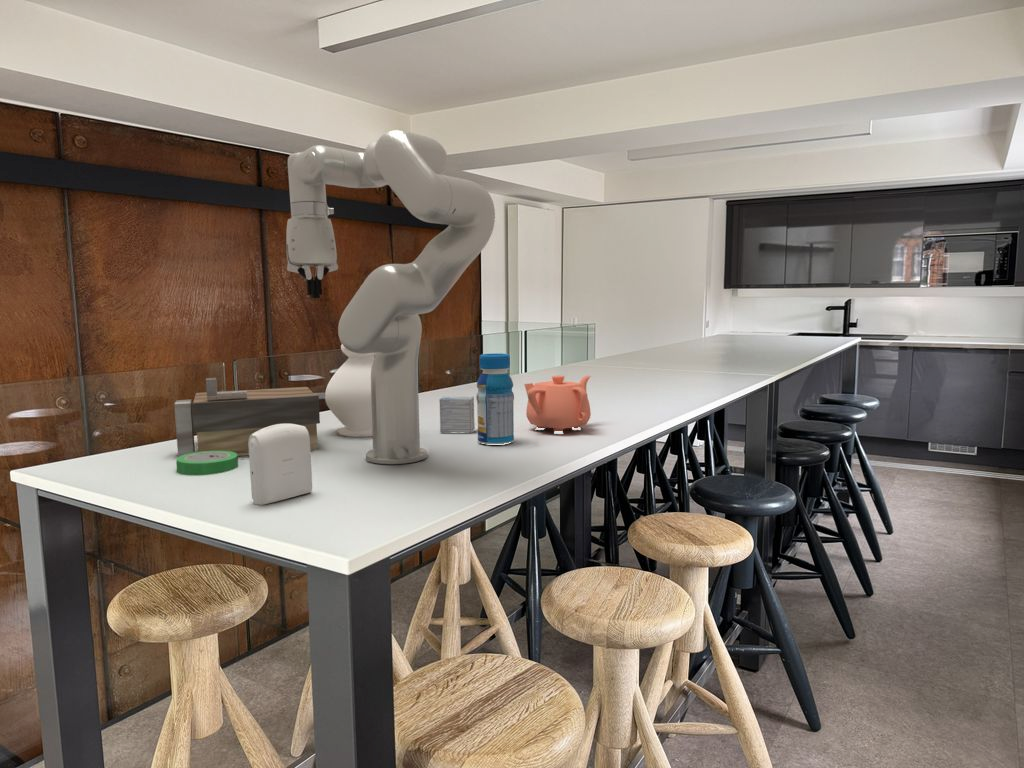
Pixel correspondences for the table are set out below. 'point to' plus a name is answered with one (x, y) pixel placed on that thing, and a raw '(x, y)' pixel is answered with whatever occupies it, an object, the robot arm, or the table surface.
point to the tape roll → (206, 462)
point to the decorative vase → (352, 394)
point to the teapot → (558, 403)
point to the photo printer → (279, 463)
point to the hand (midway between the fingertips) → (315, 298)
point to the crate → (217, 434)
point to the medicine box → (457, 414)
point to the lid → (256, 410)
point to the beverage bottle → (495, 400)
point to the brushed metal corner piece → (213, 394)
